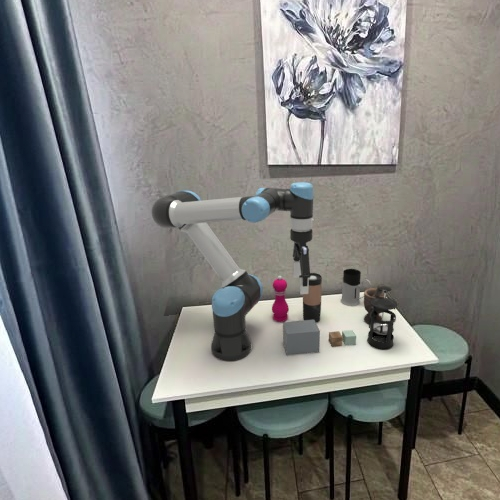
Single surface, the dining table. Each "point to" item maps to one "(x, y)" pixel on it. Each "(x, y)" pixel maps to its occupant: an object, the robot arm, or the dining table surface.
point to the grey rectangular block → (301, 337)
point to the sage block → (349, 337)
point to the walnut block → (335, 339)
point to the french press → (381, 321)
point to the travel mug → (313, 299)
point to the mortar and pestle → (370, 295)
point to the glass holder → (351, 287)
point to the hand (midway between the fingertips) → (300, 285)
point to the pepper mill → (280, 300)
